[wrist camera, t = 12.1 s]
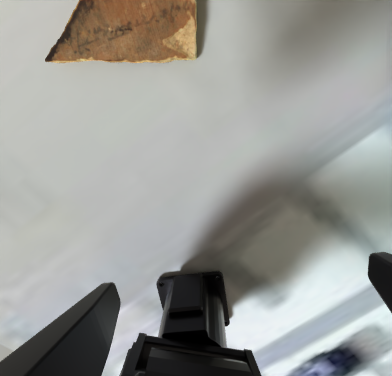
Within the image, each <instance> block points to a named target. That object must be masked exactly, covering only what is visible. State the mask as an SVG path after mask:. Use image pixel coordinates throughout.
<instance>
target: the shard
mask: <svg viewBox="0 0 392 376" xmlns="http://www.w3.org/2000/svg"><path fill="white" fill-rule="evenodd" d="M196 17H197V10H196V0H79V2H78V4H77V6H76V8H75V9H74V11H73V13H72V15H71V17H70V19H69V21H68V23H67V25H66V27H65V30H64V32H63V33H62V35H61V37H60V38H59V39H58V41H57V43H56V44H55V45H54V46H53V47H52V48H51V50H50V52H49V54H48V56H47V57H46V59H45V61H46V62H55V63H66V62H80V61H90V60H99V61H105V62H131V63H143V62H151V63H153V62H156V63H164V62H171V61H173V60H195V59H196V58H197V46H196V30H197V19H196Z"/></svg>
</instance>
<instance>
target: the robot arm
mask: <svg viewBox="0 0 392 376" xmlns="http://www.w3.org/2000/svg"><path fill="white" fill-rule="evenodd" d="M217 276H219V278H216V277H217ZM368 277H369V280H370V282H371V283H372V285H373V286H374V288H375V289H376V291H377V292H378V294H379V295H380V296H381V298H382V299H383V301H384V302H385V304H386V305H387V307H388V308H389V310H390V311H391V313H392V254H389V253H386V252H378V253H372V254H370V256H369V265H368ZM161 283H164V284H161ZM157 289H158V293H159V296H160V300H161V304H162V308H163V316H162V320H161V325H160V330H159V335H158V337H154V336H147V335H146V334H144V333H139V336H138V338H137V341H136V342H134V343H133V346H132V348H131V349H129V350H128V353H127V356H126V359H125V362H124V365H123V368H122V371H121V373H120V375H119V376H261V374H260V371H259V369H258V366H257V363H256V361H255V358H254V356H253V353H252V351H251V350H247V349H244V350H237V349H231V348H227V344H226V333H225V326H228V325H229V323H230V321H229V314H228V307H227V301H226V294H225V287H224V281H223V275H222V273H221V272H218V271H216V272H207V273H198V274H189V275H180V276H172V277H163V278H159V279H158V281H157ZM119 310H120V298H119V295H118V292H117V289H116V286H115V284H114V283H113V282H110V283H103V284H101V285H100V286H98V287H97V288H96V289H94V290H93V291H92V292H91V293H89V294H88V295H87V296H85V297H84V298H83V299H81V300H80V301H79V302H78V303H76V304H75V305H74V306H72V307H71V308H70V309H68V310H67V311H66V312H65V313H63V314H62V315H61V316H59V317H58V318H57V319H55V320H54V321H53V322H52V323H50V324H49V325H48V326H46V327H45V328H44V329H42V330H41V331H40V332H38V333H37V334H36V335H35V336H33V337H32V338H31V339H29V340H28V341H27V342H25V343H24V344H23V345H22V346H20V347H19V348H18V349H16V350H15V351H14V352H12V353H11V354H10V355H9V356H7V357H6V358H5V359H3V360H2V361H1V362H0V376H101V375H102V372H103V369H104V366H105V363H106V360H107V357H108V354H109V351H110V347H111V343H112V339H113V335H114V331H115V326H116V322H117V318H118V314H119Z"/></svg>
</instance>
